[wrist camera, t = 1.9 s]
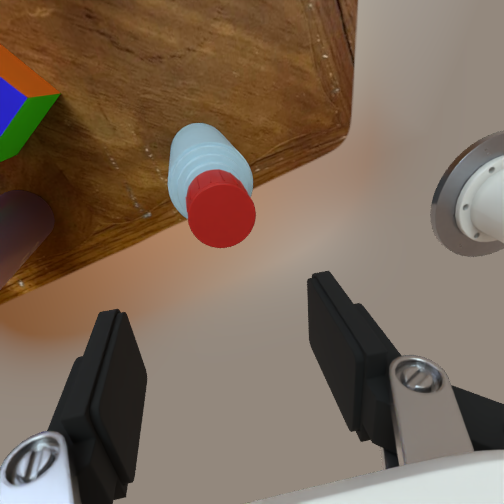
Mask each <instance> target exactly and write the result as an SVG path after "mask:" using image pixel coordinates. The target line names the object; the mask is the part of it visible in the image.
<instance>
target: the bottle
mask: <svg viewBox="0 0 504 504" xmlns="http://www.w3.org/2000/svg"><path fill="white" fill-rule="evenodd" d="M214 169H220V170H224V171H227V172H229V173H231V174H232V175H234V176H235V177H236V178H237V179H238V180H240V181H241V183H242V184H243V186H244V187H245V189H246V190H247V192H248V195H249V196H250V198H251V194H252V190H253V177H252V173H251V170H250V167H249V165H248V163H247V161H246V160H245V159H244V157H243V156H242V155H241V154H240V153H239V152H238V151H237V150H236V149H235V148H234V146H233V145H232V144H231V143H230V142H229V141H228V140H227V139H226V138H225V137H224V136H223V135H222V134H221V133H220V132H219V131H218V130H217V129H216V128H214V127H213V126H210V125H208V124H204V123H194V124H190V125H187V126H185V127H184V128H182V129H181V130H180V131H179V132H178V133H177V134H176V135H175V137H174V139H173V141H172V144H171V152H170V163H169V175H168V191H169V195H170V198H171V200H172V202H173V204H174V206H175V207H176V209H177V210H178V211H179V212H180V213H181V214H182V215H183V216H184V217H186V218H187V219H188V212H187V209H186V197H187V190H188V186H189V185H190V184H191V182H192V181H193V180H194V178H195V177H196V176H198V175H199V174H201V173H203V172H205V171H208V170H214Z"/></svg>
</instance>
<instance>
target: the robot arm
mask: <svg viewBox="0 0 504 504" xmlns="http://www.w3.org/2000/svg"><path fill="white" fill-rule="evenodd" d="M455 218H456V223H457V226H458V228H459V230H460V231H461V232H462V233H463V234H464V235H466V236H467V237H469V238H470V239H472V240H474V241H479V242H491V241H496V240H499V241H500V242H502V243H504V155H502V156H500V157H497V158H494V159H493V160H491V161H489V162H487V163H486V164H484V165H483V166H482V167H480V168H479V169H478V170H477V171H476V172H475V173H474V174H473V175H472V176H471V177H470V178H469V180H468V181H467V182H466V184H465V185H464V187H463V189H462V190H461V192H460V195H459V197H458V200H457V204H456V208H455ZM307 288H308V289H307V291H308V320H309V321H308V322H309V341H310V345H311V348H312V350H313V352H314V354H315V357H316V359H317V361H318V363H319V365H320V368H321V370H322V372H323V374H324V376H325V379H326V381H327V383H328V385H329V387H330V389H331V392H332V394H333V396H334V398H335V400H336V402H337V405H338V407H339V409H340V411H341V413H342V415H343V418H344V420H345V422H346V424H347V426H348V428H349V430H350V431H351V432H352V431H356V433H357V435H358V437H359V439H360V441H361V442H363V441H367V440H371V441H372V443H374V444H376V445H378V446H380V449H381V457H382V465H383V470H381V471H377V472H373V473H369V474H365V475H360V476H356V477H352V478H348V479H344V480H340V481H335V482H331V483H328V484H323V485H319V486H314V487H311V488H306V489H302V490H298V491H294V492H290V493H286V494H282V495H277V496H274V497H269V498H265V499H261V500H257V501H253V502H249V503H245V504H504V404H502V403H499V402H496V401H493V400H490V399H488V398H485V397H482V396H480V395H477V394H474V393H471V392H469V391H466V390H463V389H460V388H458V387H455V386H452V385H451V383H450V381H449V378H448V376H447V374H446V373H445V371H444V370H443V369H442V368H441V367H440V366H439V365H438V364H436V363H435V362H433V361H432V360H430V359H427V358H424V357H421V356H416V355H405V356H401V354H400V353H399V352H398V351H397V349H396V348H395V347H394V345H393V344H392V343H391V342H390V340H389V339H388V338H387V336H386V335H385V334H384V332H383V331H382V330H381V328H380V327H379V326H378V325H377V323H376V322H375V321H374V320H373V318H372V317H371V316H370V314H369V313H368V312H367V310H366V309H365V308H364V306H362V304H359V303H357V304H353V303H352V301H351V300H350V299H349V297H348V296H347V294H346V293H345V292H344V290H343V289H342V288H341V286H340V285H339V284H338V282H337V281H336V280H335V278H334V277H333V275H332V274H331V273H330V272H329V271H325V272H319V273H314V274H313V275H312V278H310V279H308V281H307ZM146 385H147V373H146V369H145V366H144V363H143V360H142V357H141V354H140V351H139V348H138V345H137V343H136V340H135V337H134V334H133V331H132V328H131V325H130V322H129V319H128V316H127V314H126V313H125V312H122V313H121V312H120V310H119V309H114V310H109V311H103V312H100V313H99V314H98V317H97V320H96V323H95V325H94V328H93V331H92V333H91V336H90V339H89V342H88V345H87V347H86V350H85V352H84V355H83V356H81V357H78V358H77V359H76V360H75V362H74V364H73V367H72V369H71V372H70V374H69V377H68V379H67V382H66V385H65V387H64V390H63V392H62V395H61V397H60V400H59V403H58V405H57V407H56V410H55V413H54V415H53V418H52V420H51V423H50V425H49V428H48V430H47V431H45V432H41V433H38V434H35V435H33V436H31V437H29V438H27V439H26V440H24V441H22V442H21V443H20V444H19V445H18V446H17V447H16V448H14V449H13V450H12V452H10V454H9V455H8V456H7V457H6V458H5V460H4V462H3V463H2V465H1V467H0V504H113V500H116V499H120V498H124V497H126V492H127V486H128V483H132V482H133V481H134V477H135V470H136V462H137V454H138V447H139V439H140V431H141V423H142V416H143V408H144V401H145V392H146Z"/></svg>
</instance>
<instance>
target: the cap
mask: <svg viewBox="0 0 504 504" xmlns="http://www.w3.org/2000/svg"><path fill="white" fill-rule="evenodd" d="M186 209H187V212H188V223H189V226H190V228H191V231H192V232H193V234H194V235H195V237H196V238H197V239H198V240H200V241H201V242H202V243H204V244H206V245H208V246H211V247H216V248H226V247H231V246H234V245H236V244H238V243H240V242H241V241H243V240H244V239H245V238H246V237H247V236H248V234H249V233H250V232H251V230H252V228H253V226H254V223H255V217H256V212H255V207H254V203H253V201H252V200H251V198H250V196H249V195H248V192H247V190H246V189H245V187H244V186H243V184H242V183H241V181H240V180H238V179H237V178H236V177H235V176H234V175H232V174H231V173H229V172H227V171H224V170H220V169H214V170H208V171H205V172H203V173H201V174H199V175H198V176H196V177H195V178H194V180H193V181H192V182H191V184H190V185H189V186H188V190H187V197H186Z"/></svg>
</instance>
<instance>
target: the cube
mask: <svg viewBox="0 0 504 504" xmlns="http://www.w3.org/2000/svg"><path fill="white" fill-rule="evenodd" d="M60 94H61V93H60V92H59V91H58V90H56V89H55V88H54V87H53V86H51V85H50V84H49V83H48V82H47V81H45V80H44V79H43V78H42V77H40V76H39V75H38V74H37V73H35V72H34V71H33V70H32V69H31V68H29V67H28V66H27V65H26V64H24V63H23V62H22V61H21V60H20V59H18V58H17V57H16V56H15V55H13V54H12V53H11V52H10V51H9V50H7V49H6V48H5V47H4V46H2V45H1V44H0V162H2V161H4V160H6V159H9V158H11V157H13V156H15V155H17V154H18V153H19V151H20V150H21V148H22V147H23V146H24V144H25V143H26V141H27V140H28V139H29V137H30V136H31V135H32V133H33V132H34V130H35V129H36V128H37V126H38V125H39V123H40V122H41V121H42V119H43V118H44V116H45V115H46V114H47V112H48V111H49V109H50V108H51V107H52V105H53V104H54V103H55V101H56V100H57V98H58V97H59V96H60Z"/></svg>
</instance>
